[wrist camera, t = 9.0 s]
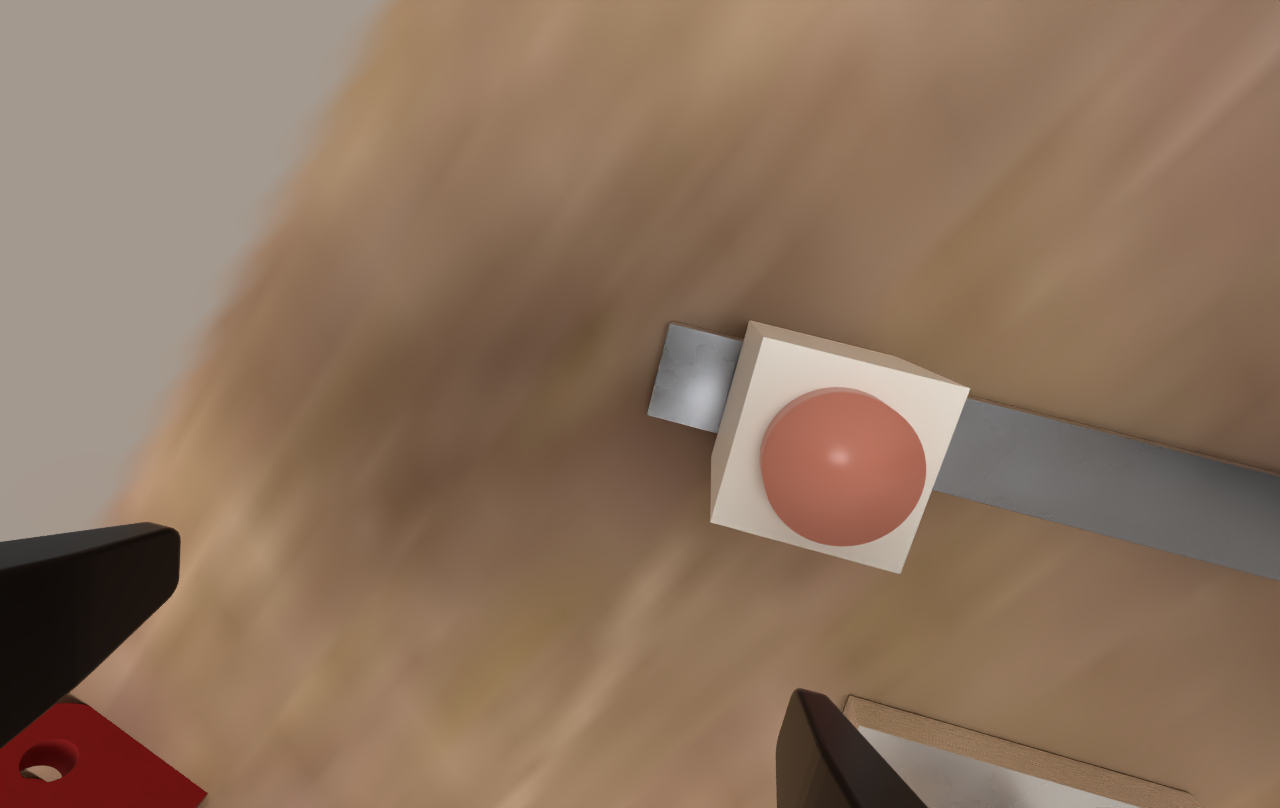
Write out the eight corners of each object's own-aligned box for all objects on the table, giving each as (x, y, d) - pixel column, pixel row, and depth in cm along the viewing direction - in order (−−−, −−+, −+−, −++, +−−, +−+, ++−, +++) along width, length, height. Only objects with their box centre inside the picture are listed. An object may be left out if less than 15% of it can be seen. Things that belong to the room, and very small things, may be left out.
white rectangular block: (895, 356, 17) (991, 398, 11) (849, 493, 18) (914, 597, 12) (749, 320, 18) (767, 342, 12) (711, 456, 19) (710, 540, 13)
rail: (1306, 479, 18) (1347, 493, 17) (1259, 566, 19) (1296, 585, 18) (672, 320, 20) (669, 323, 18) (650, 406, 20) (647, 414, 19)
